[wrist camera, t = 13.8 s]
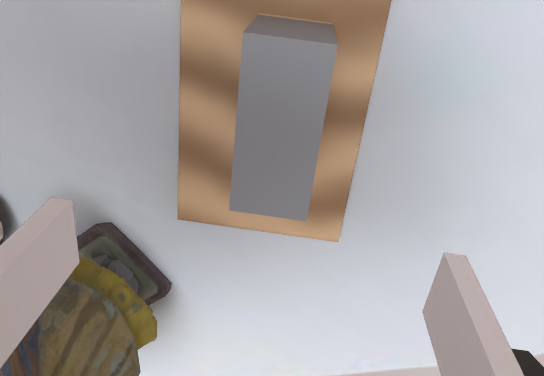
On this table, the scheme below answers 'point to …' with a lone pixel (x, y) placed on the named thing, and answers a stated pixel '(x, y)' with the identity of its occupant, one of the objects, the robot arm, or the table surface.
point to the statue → (95, 313)
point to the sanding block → (280, 114)
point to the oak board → (224, 96)
